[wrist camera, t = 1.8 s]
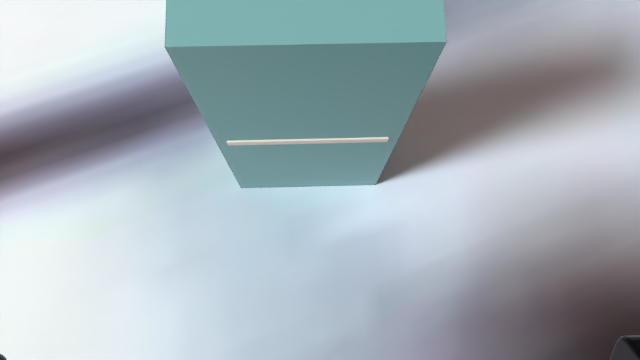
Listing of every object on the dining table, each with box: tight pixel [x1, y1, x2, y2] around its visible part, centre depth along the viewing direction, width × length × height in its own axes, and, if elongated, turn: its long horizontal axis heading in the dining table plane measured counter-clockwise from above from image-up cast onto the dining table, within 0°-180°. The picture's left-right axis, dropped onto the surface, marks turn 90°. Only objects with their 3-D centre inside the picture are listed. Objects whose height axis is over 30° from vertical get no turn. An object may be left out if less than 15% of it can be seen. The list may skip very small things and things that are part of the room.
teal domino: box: [165, 0, 447, 188], centre depth 17 cm, size 2×5×12 cm, turn 92°
